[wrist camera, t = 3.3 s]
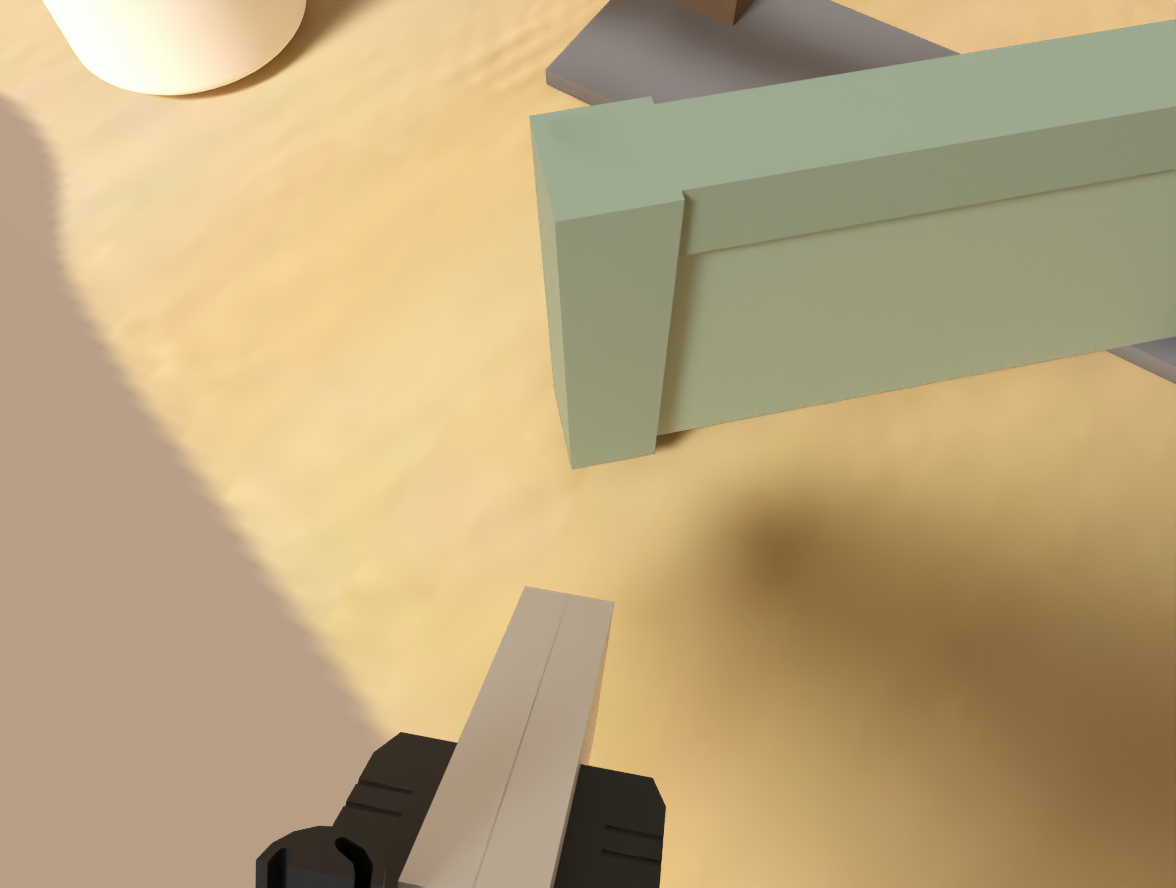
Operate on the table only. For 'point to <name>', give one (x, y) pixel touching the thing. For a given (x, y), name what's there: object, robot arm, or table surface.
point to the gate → (854, 233)
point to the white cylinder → (176, 40)
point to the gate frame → (747, 64)
